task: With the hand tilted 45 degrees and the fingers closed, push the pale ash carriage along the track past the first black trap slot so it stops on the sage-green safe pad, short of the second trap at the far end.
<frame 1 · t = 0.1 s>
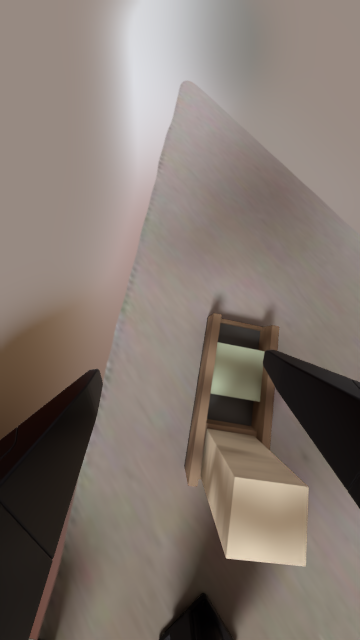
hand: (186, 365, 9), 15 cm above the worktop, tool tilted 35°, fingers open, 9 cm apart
track: (228, 391, 24), on the worktop
carriage: (243, 480, 17), point 6 cm above the worktop, slide at 0.0 cm
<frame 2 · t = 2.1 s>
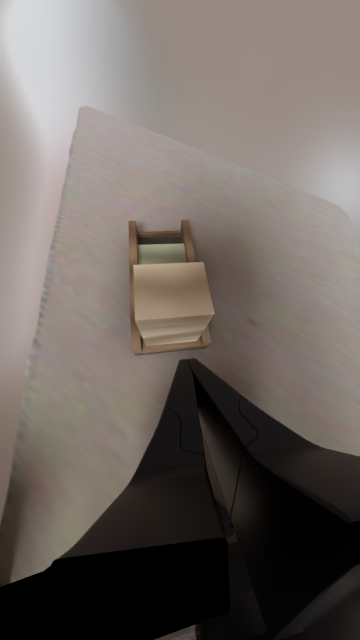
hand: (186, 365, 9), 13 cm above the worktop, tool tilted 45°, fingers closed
track: (164, 286, 26), on the worktop
carriage: (170, 309, 17), point 6 cm above the worktop, slide at 0.0 cm
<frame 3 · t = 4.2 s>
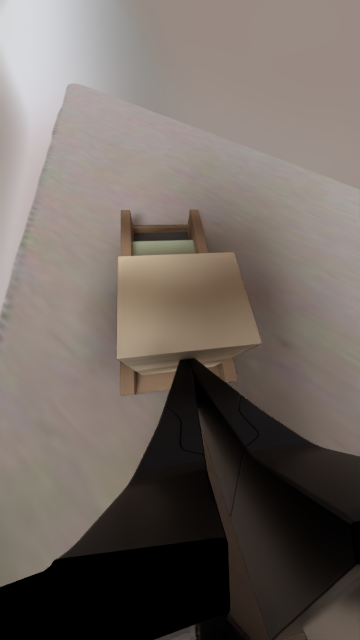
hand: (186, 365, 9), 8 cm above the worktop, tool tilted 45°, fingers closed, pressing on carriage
track: (168, 296, 19), on the worktop
carriage: (178, 326, 12), point 6 cm above the worktop, slide at 0.9 cm, touching gripper
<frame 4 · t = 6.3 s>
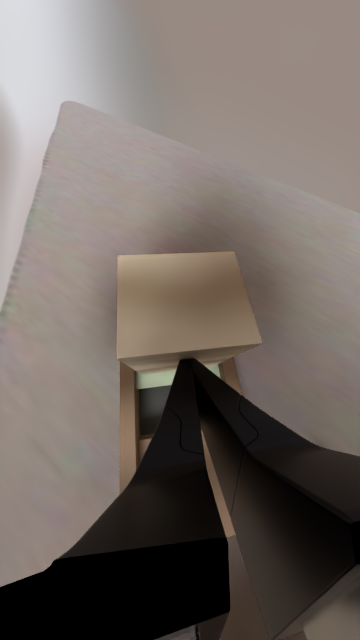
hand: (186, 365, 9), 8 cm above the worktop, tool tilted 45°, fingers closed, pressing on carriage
track: (177, 381, 16), on the worktop
carriage: (178, 326, 12), point 6 cm above the worktop, slide at 10.0 cm, touching gripper
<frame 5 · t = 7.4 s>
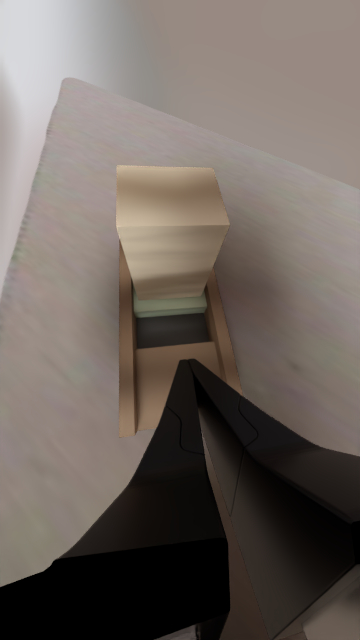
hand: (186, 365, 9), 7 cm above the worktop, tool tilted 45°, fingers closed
track: (170, 314, 18), on the worktop
carriage: (168, 246, 14), point 6 cm above the worktop, slide at 10.0 cm
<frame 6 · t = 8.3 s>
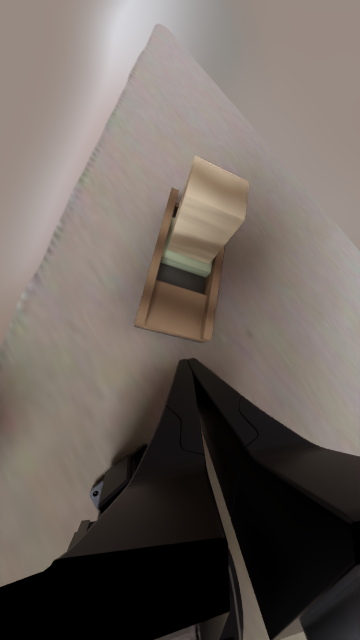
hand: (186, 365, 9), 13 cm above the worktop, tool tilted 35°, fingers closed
track: (182, 270, 25), on the worktop
carriage: (203, 220, 20), point 6 cm above the worktop, slide at 10.0 cm
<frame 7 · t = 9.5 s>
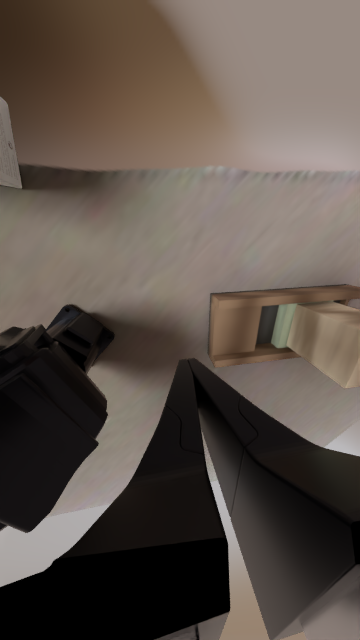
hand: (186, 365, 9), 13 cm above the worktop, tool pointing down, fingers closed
track: (274, 319, 25), on the worktop
carriage: (337, 338, 19), point 6 cm above the worktop, slide at 10.0 cm
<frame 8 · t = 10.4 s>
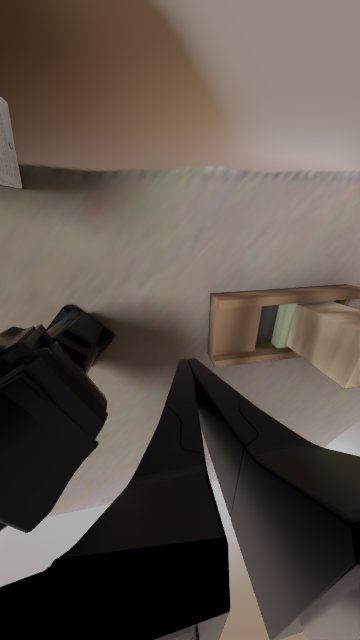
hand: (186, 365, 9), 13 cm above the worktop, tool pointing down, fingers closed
track: (274, 319, 25), on the worktop
carriage: (337, 338, 19), point 6 cm above the worktop, slide at 10.0 cm
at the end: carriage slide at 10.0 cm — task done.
